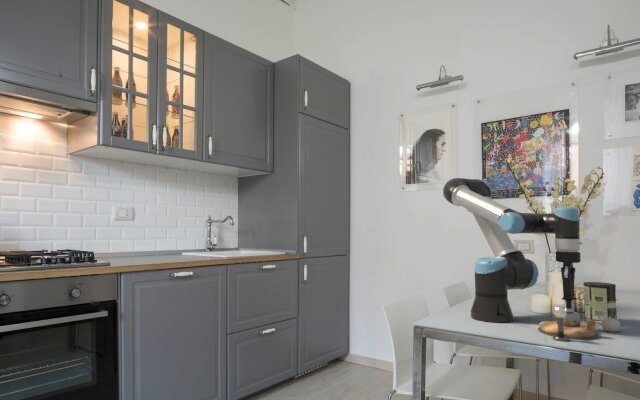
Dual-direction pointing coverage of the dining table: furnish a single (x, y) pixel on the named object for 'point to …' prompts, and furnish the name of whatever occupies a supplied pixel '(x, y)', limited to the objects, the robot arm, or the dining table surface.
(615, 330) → the garlic
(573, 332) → the turntable
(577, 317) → the cast cover
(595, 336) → the turntable base
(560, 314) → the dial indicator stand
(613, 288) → the coffee can
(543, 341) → the dining table surface
